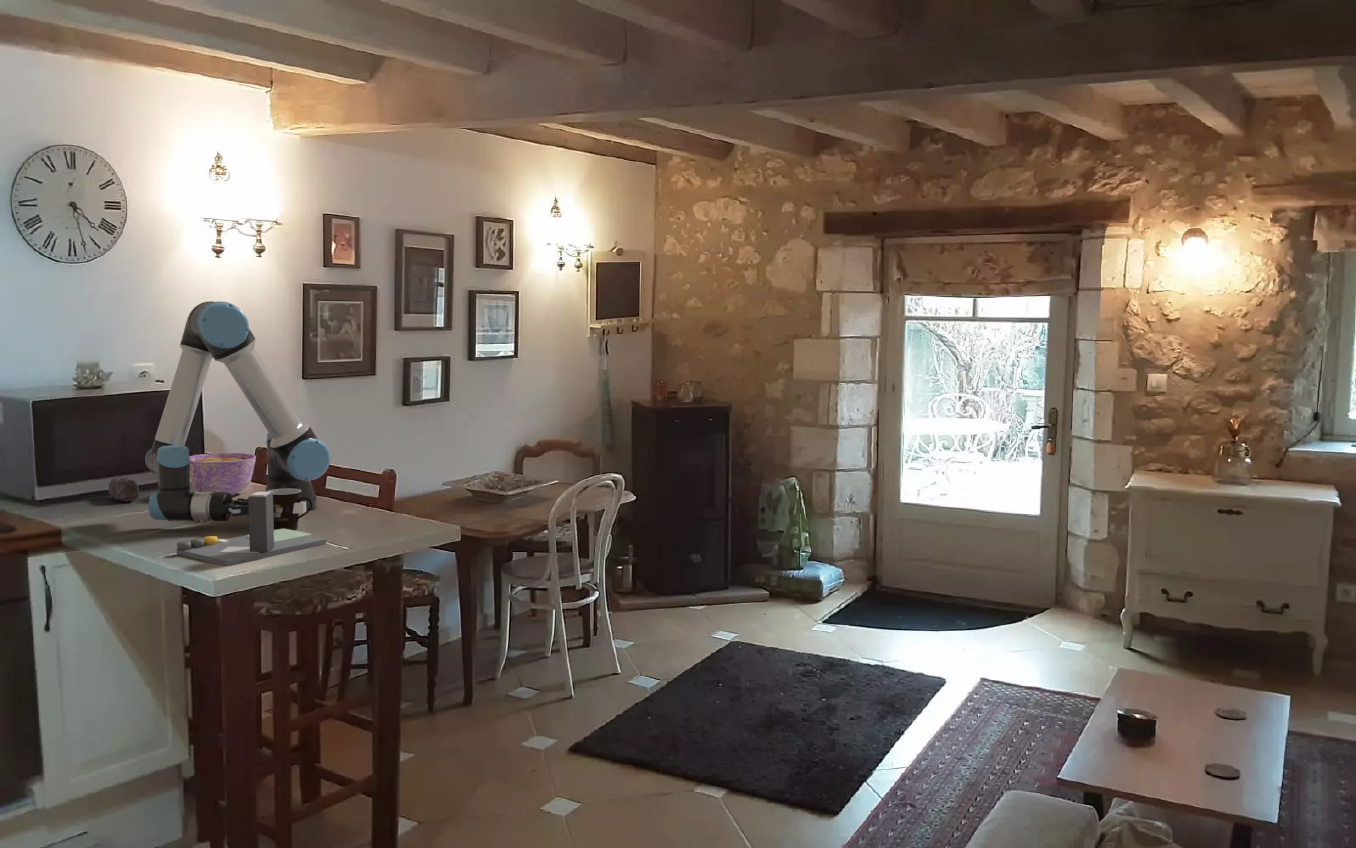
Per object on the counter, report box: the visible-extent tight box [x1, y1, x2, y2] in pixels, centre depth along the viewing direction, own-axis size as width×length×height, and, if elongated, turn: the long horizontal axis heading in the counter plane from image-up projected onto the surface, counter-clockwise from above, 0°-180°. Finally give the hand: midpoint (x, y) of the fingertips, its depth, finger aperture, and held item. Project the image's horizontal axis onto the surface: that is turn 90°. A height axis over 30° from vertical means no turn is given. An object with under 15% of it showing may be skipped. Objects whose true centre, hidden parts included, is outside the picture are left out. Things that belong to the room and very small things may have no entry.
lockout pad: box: [246, 528, 313, 543], centre depth 272 cm, size 11×11×1 cm
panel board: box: [176, 529, 327, 567], centre depth 263 cm, size 28×19×3 cm, turn 148°
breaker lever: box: [247, 491, 274, 552], centre depth 256 cm, size 4×5×13 cm
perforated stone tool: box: [107, 477, 140, 503], centre depth 320 cm, size 15×5×7 cm, turn 47°
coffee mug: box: [267, 489, 313, 531], centre depth 284 cm, size 12×9×10 cm
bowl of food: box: [189, 452, 257, 497], centre depth 331 cm, size 20×20×12 cm
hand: (304, 507), depth 284 cm, fingers closed on coffee mug
